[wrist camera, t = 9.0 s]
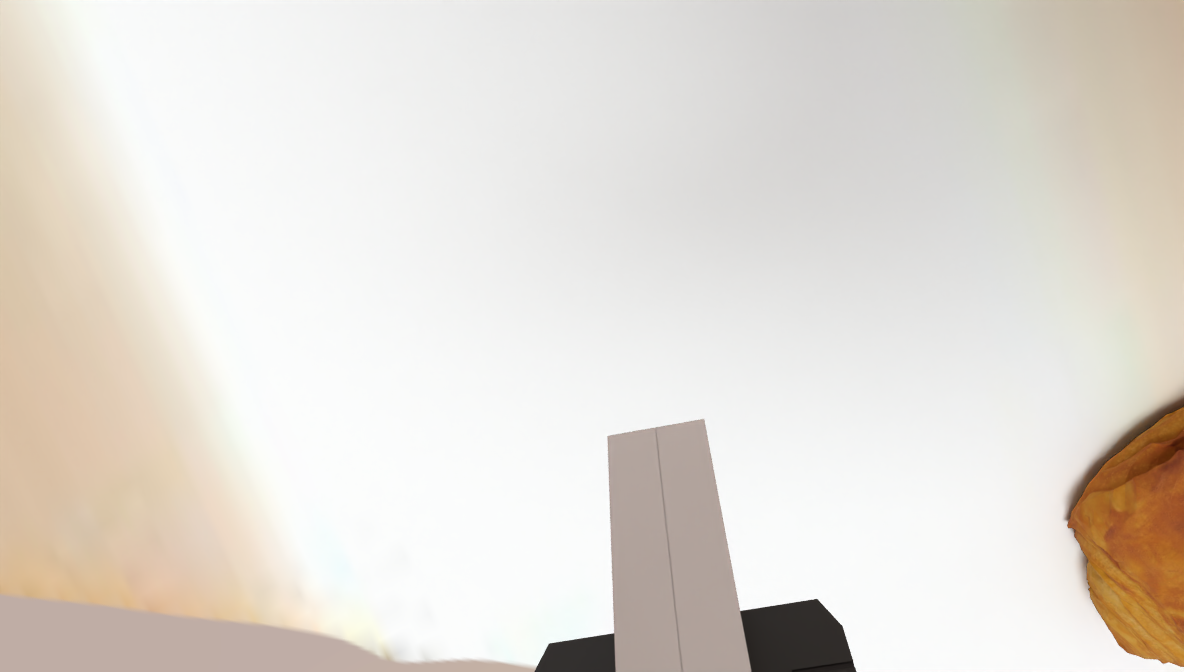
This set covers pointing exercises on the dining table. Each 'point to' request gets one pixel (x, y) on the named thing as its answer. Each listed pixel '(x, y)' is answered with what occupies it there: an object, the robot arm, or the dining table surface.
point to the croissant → (1139, 542)
